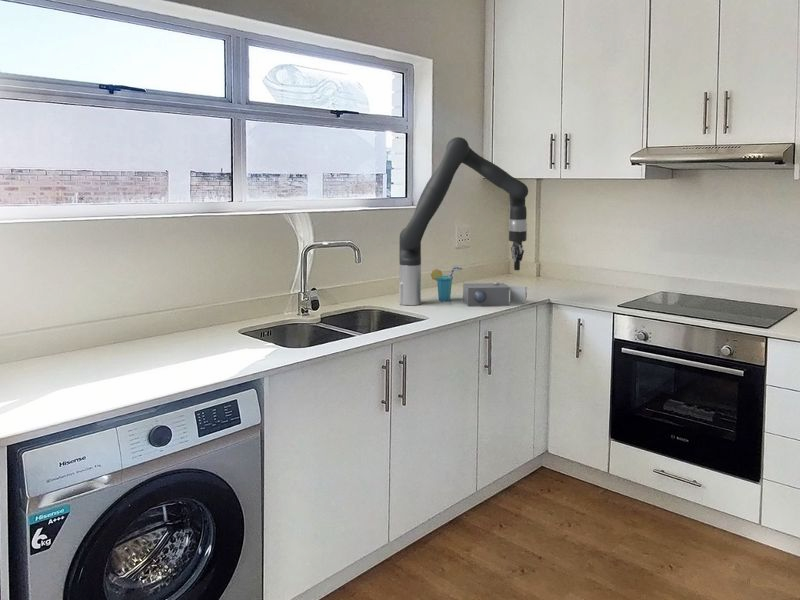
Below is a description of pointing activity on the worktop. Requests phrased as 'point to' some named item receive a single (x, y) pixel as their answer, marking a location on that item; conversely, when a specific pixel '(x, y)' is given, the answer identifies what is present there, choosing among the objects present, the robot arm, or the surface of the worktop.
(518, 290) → the side door
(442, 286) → the cup
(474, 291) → the grey knobbed box
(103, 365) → the worktop surface
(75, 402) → the worktop surface
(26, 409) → the worktop surface
